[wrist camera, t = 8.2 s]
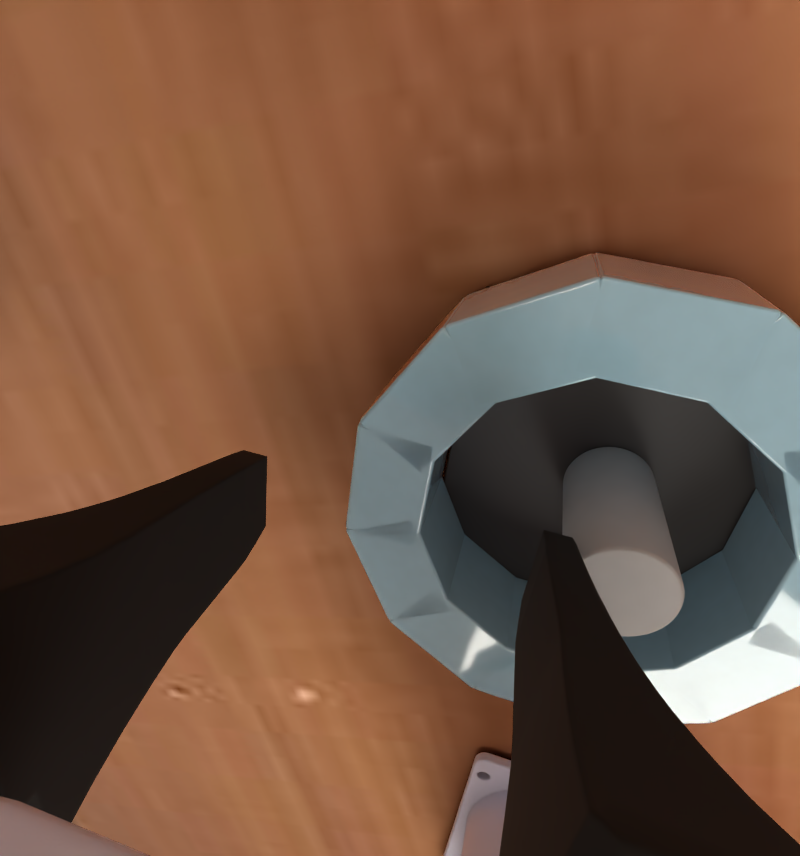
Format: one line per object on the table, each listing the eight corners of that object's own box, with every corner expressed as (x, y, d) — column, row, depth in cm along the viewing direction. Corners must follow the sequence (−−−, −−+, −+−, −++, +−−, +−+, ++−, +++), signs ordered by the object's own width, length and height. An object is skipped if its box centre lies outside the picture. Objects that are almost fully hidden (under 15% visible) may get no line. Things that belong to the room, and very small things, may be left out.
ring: (723, 688, 17) (751, 781, 15) (362, 578, 19) (330, 643, 17) (957, 319, 12) (1067, 366, 9) (414, 217, 14) (379, 232, 11)
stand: (706, 620, 18) (758, 791, 13) (433, 543, 19) (389, 672, 14) (851, 356, 13) (1006, 466, 9) (486, 285, 15) (449, 346, 10)
